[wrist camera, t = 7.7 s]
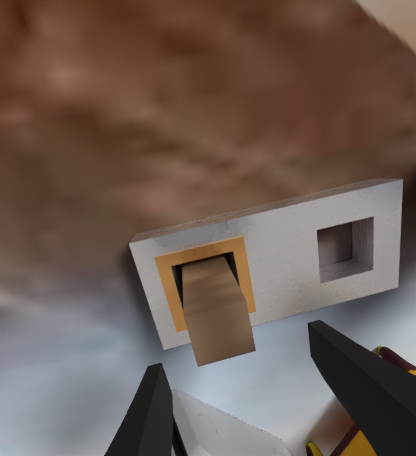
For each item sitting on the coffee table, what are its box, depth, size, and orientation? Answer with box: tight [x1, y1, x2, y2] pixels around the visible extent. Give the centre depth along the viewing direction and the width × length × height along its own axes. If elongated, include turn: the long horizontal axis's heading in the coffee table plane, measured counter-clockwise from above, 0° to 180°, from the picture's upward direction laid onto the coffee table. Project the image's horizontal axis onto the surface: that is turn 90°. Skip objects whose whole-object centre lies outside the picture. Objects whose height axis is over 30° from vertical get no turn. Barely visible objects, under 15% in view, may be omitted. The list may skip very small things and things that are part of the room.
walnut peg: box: [182, 254, 256, 367], centre depth 17 cm, size 4×4×8 cm
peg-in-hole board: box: [129, 178, 403, 350], centre depth 20 cm, size 22×10×3 cm, turn 102°
